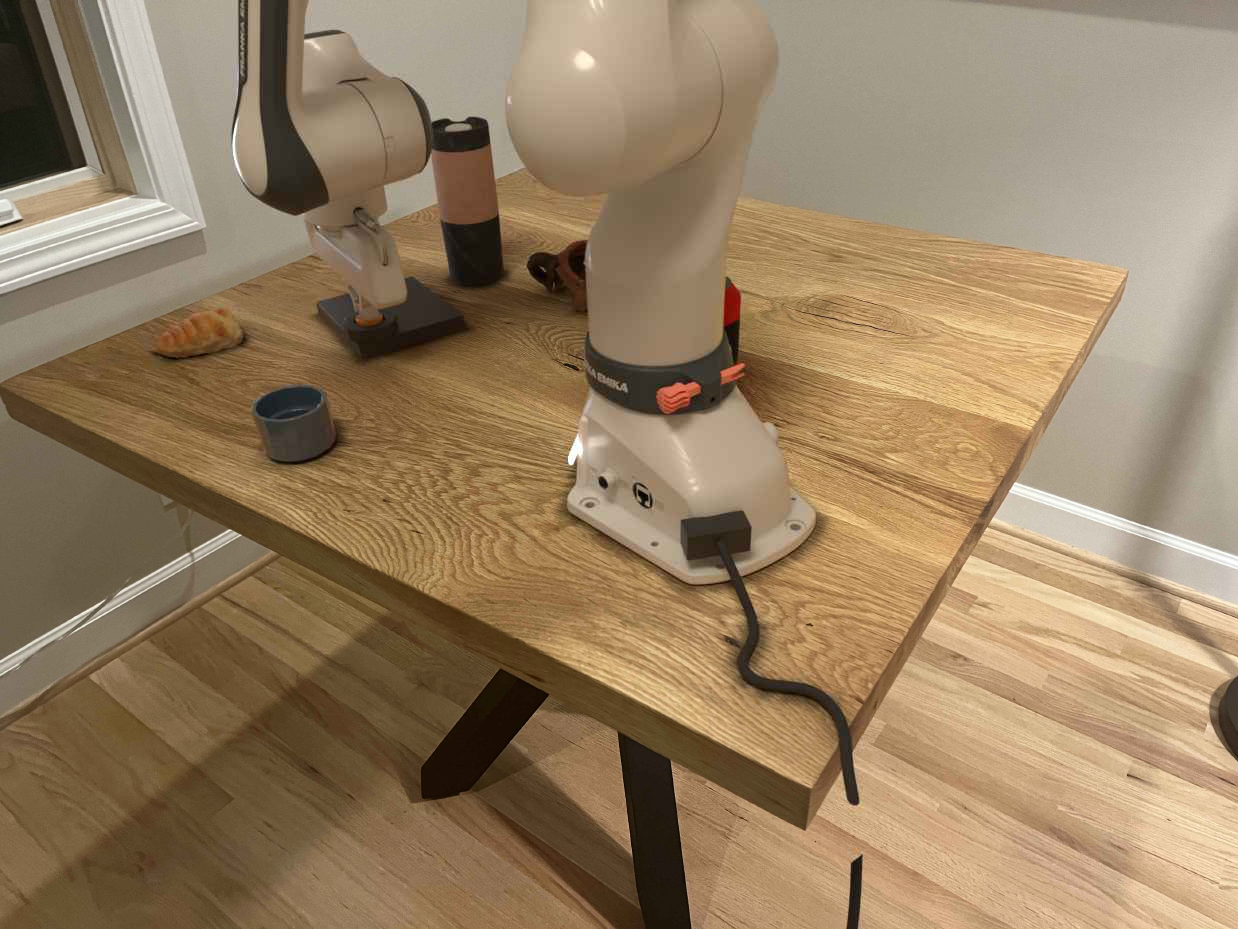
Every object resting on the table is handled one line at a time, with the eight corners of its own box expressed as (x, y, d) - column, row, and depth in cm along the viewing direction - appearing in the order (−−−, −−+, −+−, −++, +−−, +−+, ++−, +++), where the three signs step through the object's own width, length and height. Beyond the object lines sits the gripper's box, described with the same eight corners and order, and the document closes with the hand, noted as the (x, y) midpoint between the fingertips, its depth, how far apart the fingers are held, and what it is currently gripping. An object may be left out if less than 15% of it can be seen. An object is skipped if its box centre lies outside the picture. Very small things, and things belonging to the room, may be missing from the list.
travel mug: (477, 292, 117) (457, 134, 106) (437, 280, 121) (413, 126, 110) (517, 273, 122) (501, 120, 111) (477, 261, 126) (458, 113, 115)
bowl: (346, 450, 88) (336, 405, 85) (277, 474, 85) (263, 429, 82) (323, 420, 92) (312, 377, 90) (256, 442, 89) (243, 398, 86)
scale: (466, 330, 108) (463, 303, 106) (360, 363, 102) (354, 335, 100) (414, 289, 119) (410, 264, 117) (315, 316, 113) (309, 290, 111)
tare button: (388, 329, 104) (386, 317, 103) (363, 337, 103) (361, 324, 102) (378, 320, 106) (376, 308, 105) (354, 327, 105) (351, 315, 104)
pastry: (168, 368, 103) (157, 338, 101) (151, 348, 107) (141, 319, 105) (249, 343, 108) (240, 313, 105) (230, 325, 112) (221, 296, 110)
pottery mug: (615, 281, 120) (629, 239, 113) (609, 338, 116) (623, 298, 109) (526, 262, 119) (534, 219, 111) (517, 320, 114) (525, 278, 107)
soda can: (677, 412, 91) (678, 303, 85) (655, 377, 97) (654, 273, 91) (747, 400, 93) (753, 291, 86) (721, 367, 99) (725, 263, 92)
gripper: (410, 217, 90) (430, 341, 98) (338, 169, 104) (361, 281, 112) (349, 231, 87) (375, 358, 95) (284, 180, 101) (311, 294, 109)
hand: (367, 316), depth 104 cm, fingers closed, pressing on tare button
